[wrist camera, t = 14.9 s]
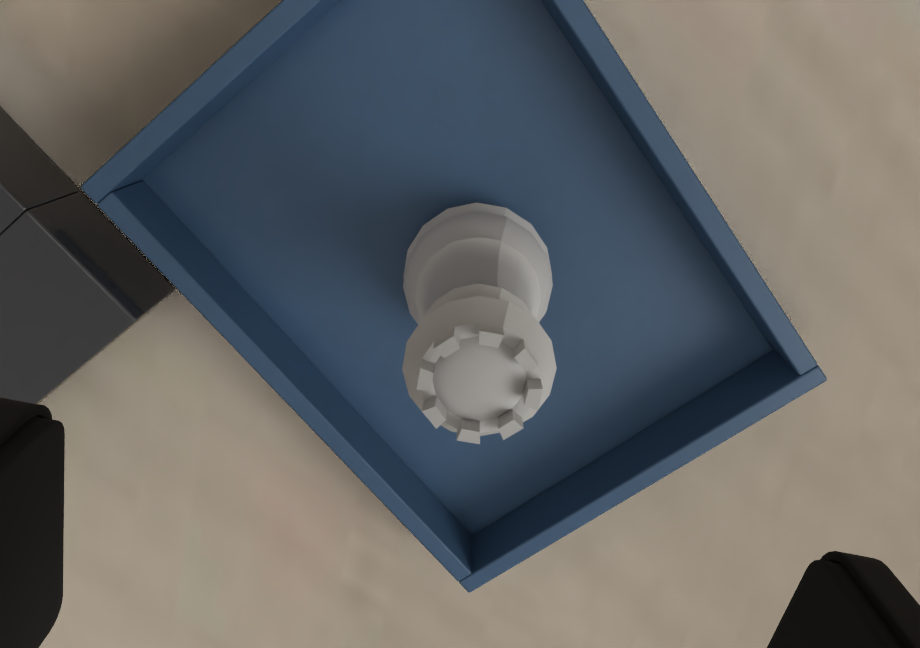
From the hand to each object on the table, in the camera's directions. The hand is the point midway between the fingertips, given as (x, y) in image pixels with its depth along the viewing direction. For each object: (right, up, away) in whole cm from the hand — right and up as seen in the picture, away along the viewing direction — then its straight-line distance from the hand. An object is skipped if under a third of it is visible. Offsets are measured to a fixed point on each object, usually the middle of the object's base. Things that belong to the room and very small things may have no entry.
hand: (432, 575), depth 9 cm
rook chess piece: (+1, +5, +13) cm, 14 cm away
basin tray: (+1, +5, +13) cm, 14 cm away
